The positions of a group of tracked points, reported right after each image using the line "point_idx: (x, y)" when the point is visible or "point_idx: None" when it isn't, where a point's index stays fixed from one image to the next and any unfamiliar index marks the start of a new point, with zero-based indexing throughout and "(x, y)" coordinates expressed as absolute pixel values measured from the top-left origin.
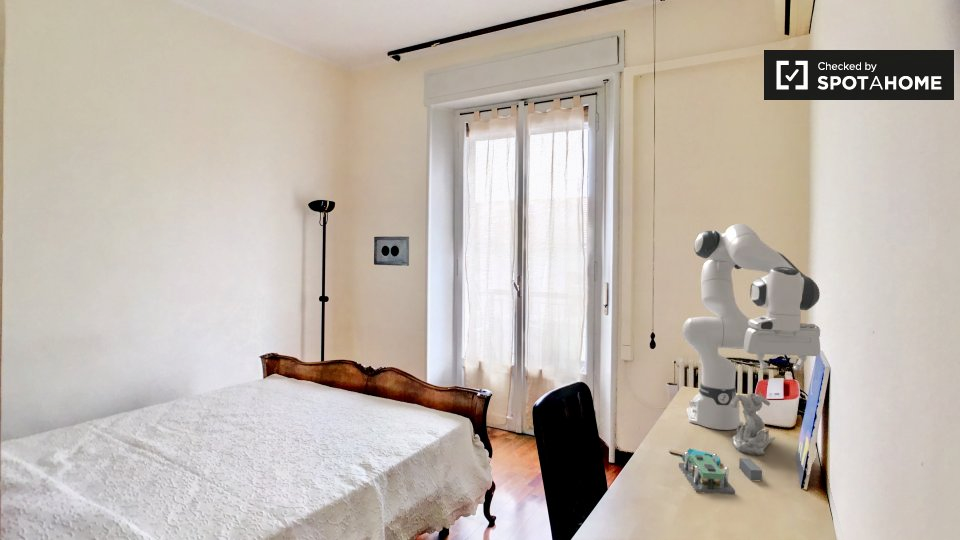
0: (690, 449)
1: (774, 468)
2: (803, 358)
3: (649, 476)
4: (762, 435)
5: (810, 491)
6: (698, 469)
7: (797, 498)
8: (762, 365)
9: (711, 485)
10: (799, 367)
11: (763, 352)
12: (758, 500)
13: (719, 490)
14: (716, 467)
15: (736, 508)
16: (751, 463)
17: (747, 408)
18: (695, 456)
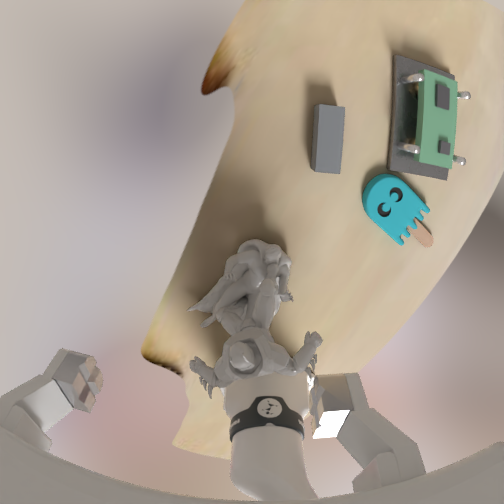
0: (402, 241)
1: (250, 173)
2: (10, 408)
3: (491, 141)
4: (225, 294)
5: (227, 66)
6: (463, 92)
7: (274, 35)
8: (364, 394)
9: None
10: (62, 364)
11: (423, 492)
12: (358, 31)
13: (420, 62)
14: (428, 99)
15: (405, 16)
16: (326, 142)
17: (268, 337)
18: (447, 154)
